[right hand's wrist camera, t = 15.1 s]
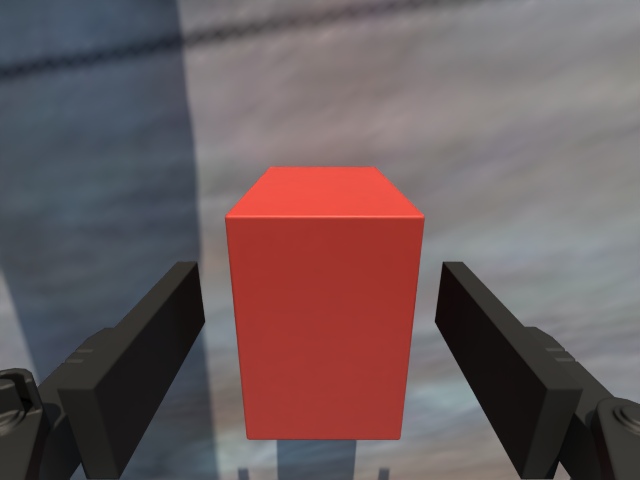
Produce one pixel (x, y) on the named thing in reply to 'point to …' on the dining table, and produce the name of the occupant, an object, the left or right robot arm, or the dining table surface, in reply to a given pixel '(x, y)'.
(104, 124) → the dining table surface
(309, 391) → the brick
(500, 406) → the right robot arm
